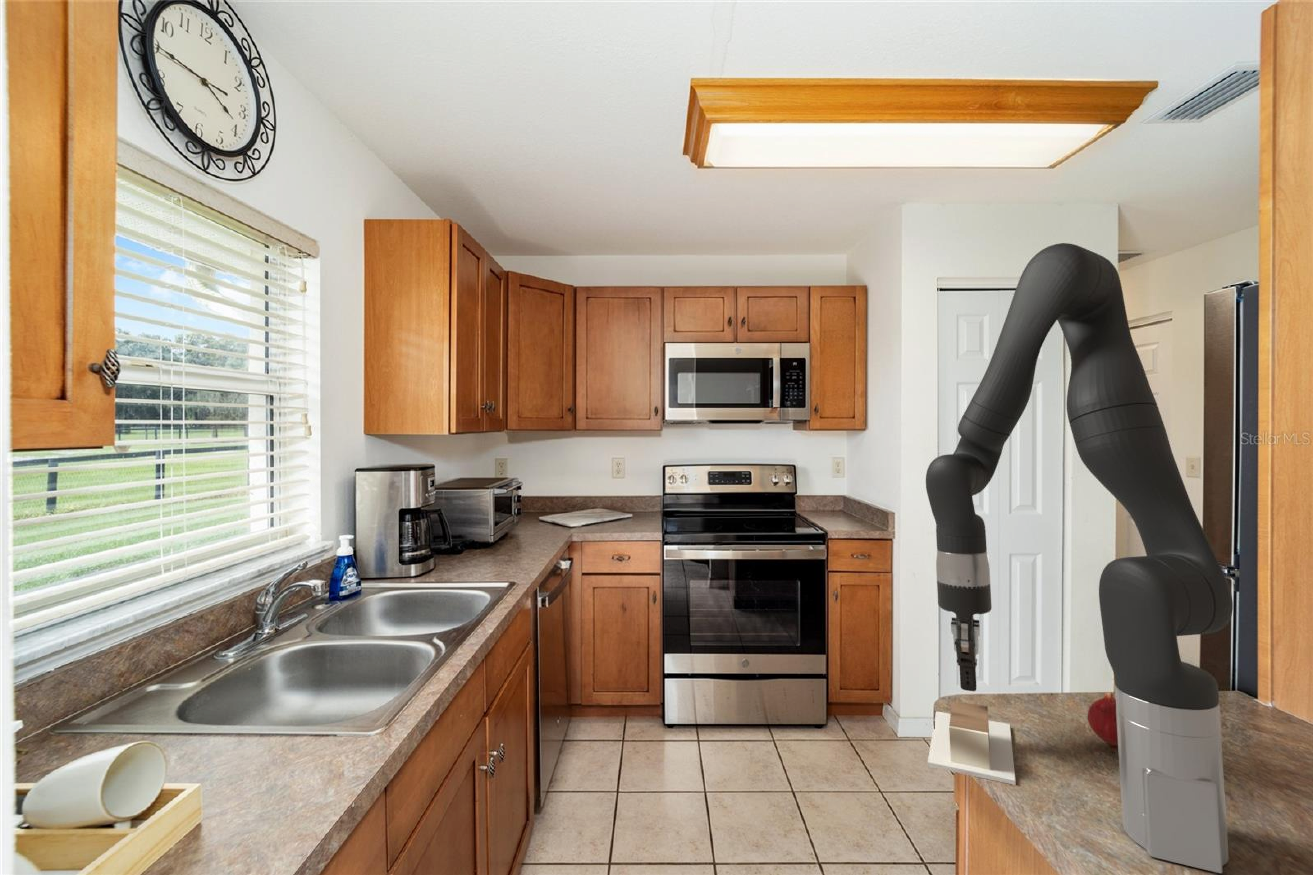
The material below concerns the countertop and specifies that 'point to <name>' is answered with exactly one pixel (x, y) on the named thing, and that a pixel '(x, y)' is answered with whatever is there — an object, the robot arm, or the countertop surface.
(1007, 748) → the mat
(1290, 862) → the countertop surface
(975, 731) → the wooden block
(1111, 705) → the onion
